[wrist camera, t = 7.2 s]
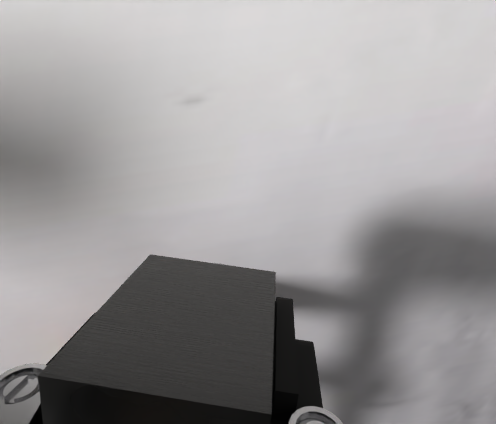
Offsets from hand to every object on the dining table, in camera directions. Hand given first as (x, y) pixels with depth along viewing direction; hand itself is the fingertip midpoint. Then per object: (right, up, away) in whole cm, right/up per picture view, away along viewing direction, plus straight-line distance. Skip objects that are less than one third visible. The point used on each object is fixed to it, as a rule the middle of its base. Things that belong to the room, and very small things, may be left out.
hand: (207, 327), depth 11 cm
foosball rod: (-5, -6, +10) cm, 13 cm away
